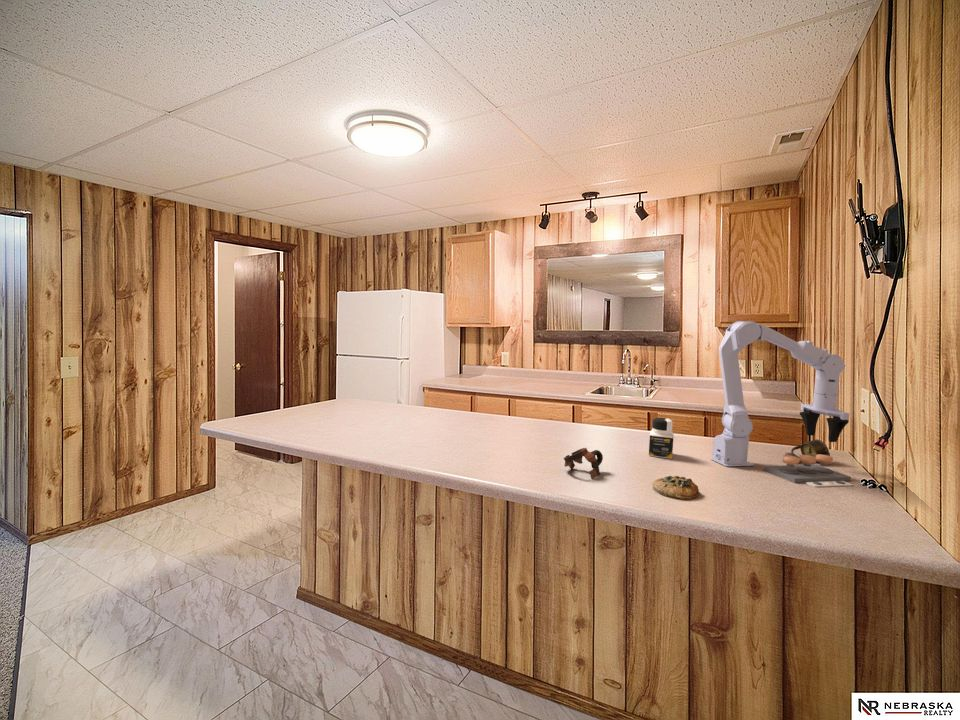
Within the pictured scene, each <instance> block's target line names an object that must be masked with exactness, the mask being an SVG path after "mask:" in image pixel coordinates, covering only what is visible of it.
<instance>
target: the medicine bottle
mask: <svg viewBox="0 0 960 720" xmlns="http://www.w3.org/2000/svg"><path fill="white" fill-rule="evenodd" d="M673 423H674V422H673V420H672V419H670V418H666V417H655V418H653V419H652V426H651V427H652V429H651V430H650V432H649V441H648V457H654V458H655V457H656V458H662V459H663V458H664V459H669V460H670V459H671V460H672V459H673V453H674V452H673V450H674V436H675V434H674V432H673Z"/></svg>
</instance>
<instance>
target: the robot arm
mask: <svg viewBox="0 0 960 720" xmlns="http://www.w3.org/2000/svg"><path fill="white" fill-rule="evenodd" d="M756 341H767V342H768V343H771V344H773V345H775V346H777V347H780V348H782V349H784V350H787V351H789V352H790V355H791V357H792V358H793V359H796V360H797V361H800V362H801V363H803V364H806V365H808V366H810V367H812V368H813V369H814V370H815V380H814V389H813V390H814V391H813V399H812V400H813V401H812V404H809V403H801V404H800V410H801V411H800V412H799V415H800V417H801V418H802V420H803V425H804V427H805V431H806V436H808V437H809V436H815V434H816V431H817V430H816V429H817V424H818V420H819V417H820V415H823V416H827V417H826V422H827V427H828V436H827V437H828V442H830V443H837V442H838V439H839V437H840V435H841V433H842V431H843V430H844V428H845V427H846V426H847V425H848V423H849V421H850V413H849V412H847V411H846V412H845V411H843V410H840V409H838V408H837V406H838V394H839V383H840V375H841V373H842V372H843V371H844V370H845V368H846V364H845V363H844V359H843V358H842V356H840V355H837V354H833V353H829V350H828V349H827V348H820V347H818V346H816V345H814V342H813V341H811V340H800V341H796V340H794V339H791V338H790V337H788V336H787V335H784V334H782V333H780V332H779V331H776V330H774V329H773V328H771V327H769V326H766V325H763V324H760V323H757V322H755V321H754V320H753V321H752V320H747V321H743V320H739V321H738V320H737V321H735V322H733V323H732V324H730V325H729V326H728V327H727V328H726V329H725V334H724V336H723V338H722V340H721V343H720V344H719V345H718V355H719V357H718V358H719V363H720V365H719V366H720V372H721V379H722V386H723V387H722V389H723V396H724V403H725V404H724V406H723V414H722V417H721V424H722V426H723V427H724V429H723V431H722V433H721V434H718V435H715V437H713V440H712V454H711V457H710V460H711V461H714V462H715V463H719V464H720V465H723V466H724V467H751V466H752V467H754V465H755V463H752V462H750V461H748V455H749V441H750V434H751V433H752V431H753V429H754V424H753V421H752V420H751V419H750V418H749V417H750V416H749V413H748V410H747V408H746V406H745V401H744V400H745V399H744V393H743V385H742V377H741V368H740V362H739V361H740V360H739V353H740V352H741V351H742V350H743V349H744V348H745V347H746V346H748V345H750V344H752V343H754V342H756Z"/></svg>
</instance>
